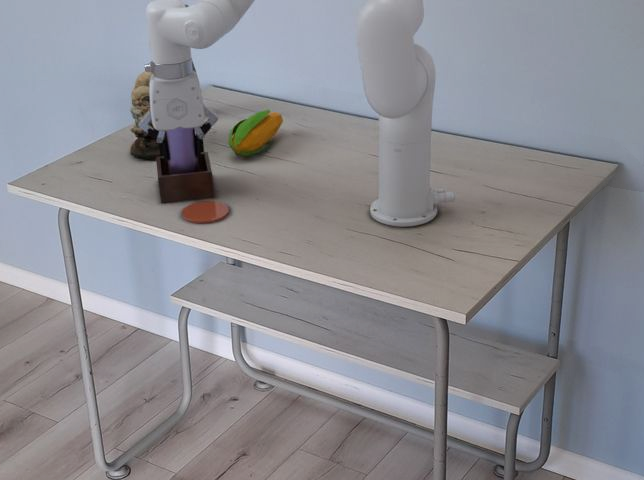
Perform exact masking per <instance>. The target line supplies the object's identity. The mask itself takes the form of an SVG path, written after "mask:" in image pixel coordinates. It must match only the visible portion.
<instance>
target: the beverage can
mask: <svg viewBox="0 0 644 480" xmlns="http://www.w3.org/2000/svg"><path fill="white" fill-rule="evenodd" d="M195 135H196V132H195V130H194V128H183V127H177V128H176V129H173V130H168V131H166V132H165V141H166V149H167V157H168V166H169V174H170V175H172V174H182V173H192V172H199V165H198V156H197V146H196V136H195Z"/></svg>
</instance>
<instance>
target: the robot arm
mask: <svg viewBox="0 0 644 480" xmlns="http://www.w3.org/2000/svg"><path fill="white" fill-rule="evenodd" d="M255 1H256V0H198V1H197V2H196V3H194V4H191V5H188V6H189V7H186V6H185V5H186V4H185V3H184V2H183V1H181V0H153V1H151V2H149V3H148V4H147V6H146V8H145V19H146V27H147V34H148V45H149V51H150V58H151V61H150V62H148V63H147V64H144V72H148V71H149V72H152V73H153V75H151V77H150V85H149V91H150V110H149V111H148V112H147V113H146V114H145V116H144V117H143V118H142V119H141V121H140V122H139V127H140V128H141V129H142V130H144V131H145V132H147V133H148V134H149V135H150V136H151V137H153V138H154V139H155V140H157V142H158V143H159V151H160V157H161V156H164V162H167V161H168V157H167V149H166V141H165V138H164V135H165V132H166V131H168V130H173V129H176V128H177V127H183V128H194V130H195V136H196V146H197V156H198V158H201V153H202V152H205V146H204V145H205V144H204V138H205V136H206V135H207V133H208V132H209V131H210V130H211V129H212V127H213V126H214V125H215V124H216V123H217V121H218V120H219V116H218V114H217V113H215V112H214V111H213V110H212V109H211V108H209V107H208V106H207V105H206V104H205V103H204V99H203V93H202V88H201V83H200V79H199V77H198V73H197V71H196V72H194V71H193V68H192V61H193V58H192V49H196V50H204V49H207V48H210V47H212V46H213V45H214V44H216V43H217V42H218V41H219V40H220V39H222V38H223V37H224V36H226V35H227V34H229V33H230V32H231V31H232V30H234V28H235V27H236V25H237V24H238V23H240V21H241V20H242V18H243V17H244V15H245V14H246V13H247V11H248V10H249V9H250V8H251V6H252V5H253V4H254V3H255ZM424 17H425V7H424V0H366V1H365V2H364V4H363V5H362V6H361V8H360V10H359V12H358V15H357V18H356V25H355V36H356V37H355V39H356V44H357V51H358V59H359V65H360V72H361V79H362V85H363V92H364V95H365V99H366V101H367V103H368V105H369V106H370V107H371V109H372V110H373V111H374V112H375V113H376V114H377V115H378V136H377V141H378V142H377V143H378V145H377V147H378V148H377V150H378V151H377V154H378V156H377V157H378V159H377V160H378V162H377V164H378V166H377V167H378V169H377V170H378V173H377V174H378V176H377V177H378V179H377V180H378V192H377V194H378V195H377V196H378V198H376V199H375V200H374V201H373V202H372V203H371V204H370V207H369V210H370V211H369V213H370V216H371V217H372V219H374V221H377V222H379V223H381V224H383V225H387V226H392V227H402V228H403V227H404V228H405V227H406V228H407V227H415V226H420V225H424V224H427V223H429V222H431V221H432V220H434V219H435V217H436V216H437V214H438V205H439V204H440V203H453V202H455V199H456V198H455V196H456V195H455V192H454V191H445V189H444V187H441V188H434V189H432V187H430V185H431V184H430V182H431V153H432V152H431V151H432V150H431V149H432V148H431V147H432V126H433V125H432V121H433V107H434V97H435V96H434V95H435V88H436V67H435V62H434V59H433V57H432V56H431V54H430V52H429V51H428V50H427V49H426V48H424V46H421V45H420V44H417V43H415V40H414V36H415V34H416V33H417V32H418V31H419V29H421V26H422V24H423V21H424ZM196 73H197V74H196ZM205 116H206V117H207V118H208V119H207V120H206V117H205ZM151 119H152V124H153V127H154V128H155V129H156V130H155V129H154V128H153V127H151V126H150V125H148V123H149V122H150V121H151Z"/></svg>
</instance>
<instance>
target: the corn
mask: <svg viewBox="0 0 644 480" xmlns="http://www.w3.org/2000/svg"><path fill="white" fill-rule="evenodd" d="M283 122H284V120H283V116H282V114H281V113H278V112H275V111H273V112H271V110H270V109H266V110H262V111H258V112H256V113H254V114H252V115H251V116H248V117H247V118H244V119H243V120H240V121H239V122H238V123H236V124H235V125H234V126H233V127H232V128H231V129H230V132H229V134H228V139H227V143H228V145H229V147H230V150H231V151H233V153H234V154H235V155H236V156H241V157H244V158H245V157H251V156H253V155H255V154H257V153H260V152H262V151H263V150H264V149H266V148H268V146H269V145H271V144H272V143H273V142H274V140H276V138H277V137H274V136H275V135H276V134H277V133H278V131H279V130H280V128H281V126H282V124H283ZM273 137H274V139H273Z"/></svg>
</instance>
